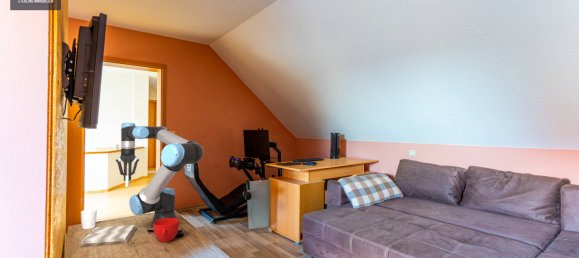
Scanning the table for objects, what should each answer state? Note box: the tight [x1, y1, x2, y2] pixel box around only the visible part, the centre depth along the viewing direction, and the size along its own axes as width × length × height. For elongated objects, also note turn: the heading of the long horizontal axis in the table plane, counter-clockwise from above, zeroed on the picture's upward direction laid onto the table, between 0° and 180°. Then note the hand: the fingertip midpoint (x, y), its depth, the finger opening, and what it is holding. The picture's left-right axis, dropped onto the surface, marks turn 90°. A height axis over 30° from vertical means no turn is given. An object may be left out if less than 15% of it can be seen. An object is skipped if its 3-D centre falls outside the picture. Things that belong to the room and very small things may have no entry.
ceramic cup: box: [153, 218, 180, 243], centre depth 156 cm, size 13×17×10 cm
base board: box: [77, 226, 137, 248], centre depth 160 cm, size 22×22×3 cm
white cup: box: [80, 208, 98, 230], centre depth 175 cm, size 8×8×10 cm
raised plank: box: [89, 224, 135, 234], centre depth 165 cm, size 20×10×2 cm, turn 106°
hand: (127, 186), depth 179 cm, fingers closed
